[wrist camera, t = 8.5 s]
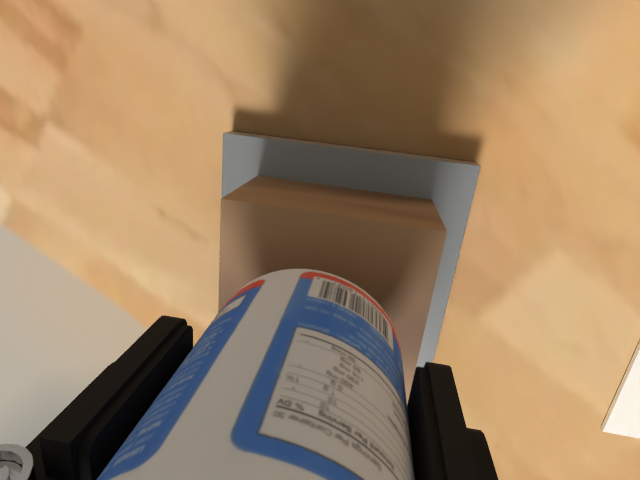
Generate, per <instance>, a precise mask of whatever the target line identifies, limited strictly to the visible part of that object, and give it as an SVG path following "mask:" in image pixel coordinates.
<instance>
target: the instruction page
mask: <svg viewBox="0 0 640 480" xmlns="http://www.w3.org/2000/svg"><path fill="white" fill-rule="evenodd" d="M601 430H602V431H603V432H608V433H613V434H619V435H624V436H629V437H635V438H640V342H639V344H638V346H637V348H636V351H635V353H634V355H633V357H632V359H631V362H630V364H629V366H628V368H627V371H626V373H625V375H624V377H623V379H622V382H621V384H620V386H619V388H618V391H617V393H616V395H615V397H614V399H613V402H612V404H611V406H610V408H609V411H608V413H607V415H606V417H605V420H604V422H603V424H602V426H601Z"/></svg>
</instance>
